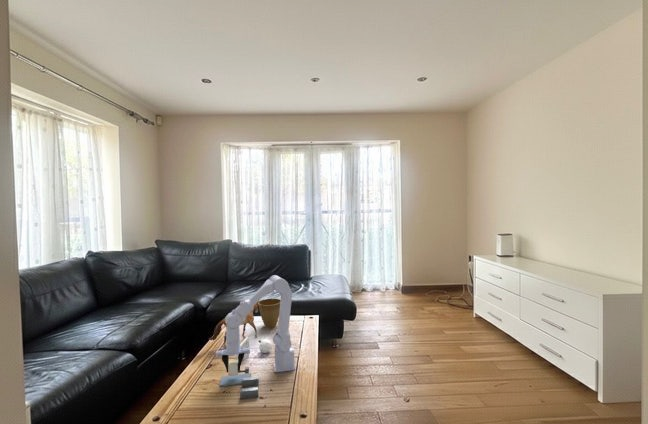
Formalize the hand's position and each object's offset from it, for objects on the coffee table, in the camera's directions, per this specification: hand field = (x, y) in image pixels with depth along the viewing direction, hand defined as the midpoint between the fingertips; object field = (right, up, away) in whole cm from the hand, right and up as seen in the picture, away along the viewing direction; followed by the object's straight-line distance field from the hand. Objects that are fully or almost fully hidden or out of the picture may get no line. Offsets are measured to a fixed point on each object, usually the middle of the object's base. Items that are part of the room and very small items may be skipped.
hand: (233, 370), depth 134 cm
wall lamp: (+2, -1, +1) cm, 3 cm away
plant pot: (+5, -4, +64) cm, 64 cm away
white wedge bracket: (-2, -5, +21) cm, 21 cm away
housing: (+9, -4, -8) cm, 13 cm away
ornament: (+9, -4, +27) cm, 29 cm away
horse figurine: (-11, -5, +41) cm, 43 cm away
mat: (+1, -4, 0) cm, 5 cm away
